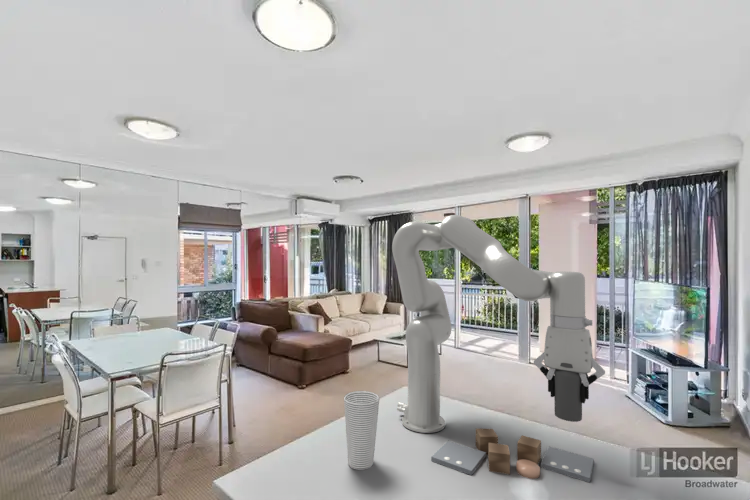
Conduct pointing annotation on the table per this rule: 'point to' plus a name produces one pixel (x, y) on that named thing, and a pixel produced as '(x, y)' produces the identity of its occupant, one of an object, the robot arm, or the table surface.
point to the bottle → (567, 394)
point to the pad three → (568, 463)
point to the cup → (361, 427)
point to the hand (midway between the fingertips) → (567, 397)
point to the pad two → (459, 457)
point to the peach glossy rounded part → (527, 469)
